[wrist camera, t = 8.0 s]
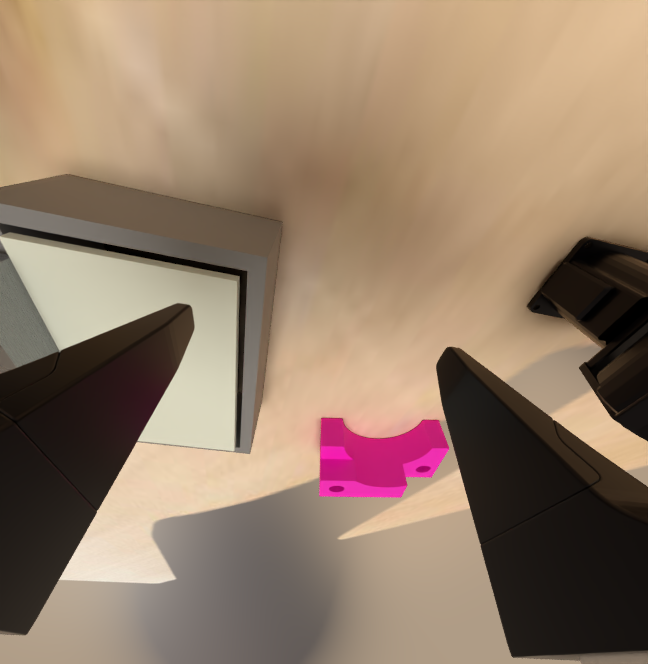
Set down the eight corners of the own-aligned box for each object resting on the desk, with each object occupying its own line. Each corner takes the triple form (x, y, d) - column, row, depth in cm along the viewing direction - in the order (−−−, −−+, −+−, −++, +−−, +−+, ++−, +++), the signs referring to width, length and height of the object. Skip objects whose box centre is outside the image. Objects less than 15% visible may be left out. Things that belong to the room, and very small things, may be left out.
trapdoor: (239, 276, 15) (222, 306, 12) (235, 445, 26) (226, 479, 23) (-66, 217, 13) (-158, 240, 10) (71, 427, 24) (42, 462, 21)
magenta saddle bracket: (319, 496, 33) (320, 468, 29) (320, 448, 38) (321, 418, 34) (437, 497, 34) (457, 470, 29) (423, 450, 39) (438, 420, 34)
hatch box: (282, 222, 19) (267, 257, 14) (261, 401, 32) (250, 453, 27) (66, 174, 17) (-41, 195, 12) (136, 384, 30) (98, 437, 25)
